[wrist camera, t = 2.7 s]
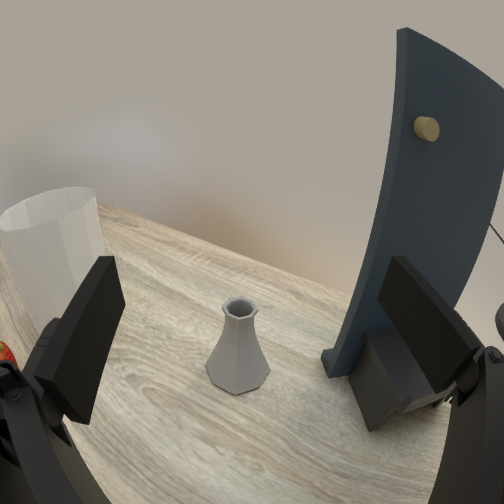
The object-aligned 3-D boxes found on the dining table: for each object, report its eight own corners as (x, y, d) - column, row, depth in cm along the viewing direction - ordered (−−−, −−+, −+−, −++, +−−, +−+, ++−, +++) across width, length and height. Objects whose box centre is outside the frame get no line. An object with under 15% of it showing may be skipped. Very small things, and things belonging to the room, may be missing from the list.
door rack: (455, 408, 23) (583, 118, 5) (352, 449, 21) (511, 11, 3) (415, 340, 34) (490, 91, 17) (320, 357, 32) (383, 33, 15)
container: (95, 280, 43) (75, 181, 34) (139, 320, 36) (115, 197, 27) (30, 315, 32) (-7, 212, 23) (58, 370, 25) (-2, 245, 16)
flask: (234, 405, 26) (235, 348, 21) (194, 365, 30) (186, 302, 25) (280, 372, 30) (294, 310, 25) (240, 338, 35) (243, 276, 30)
